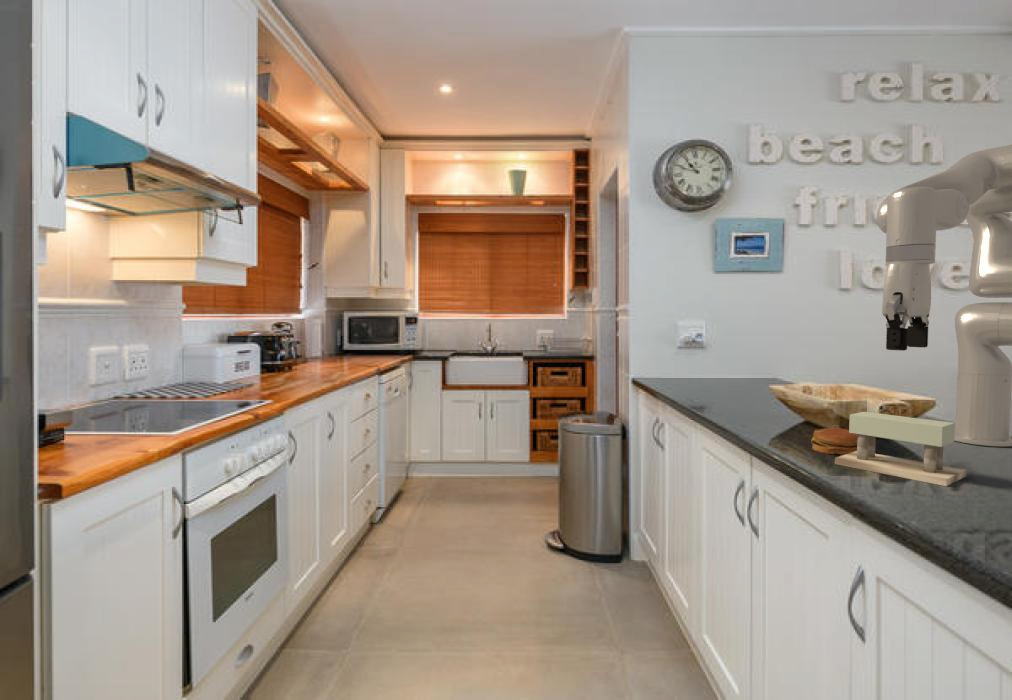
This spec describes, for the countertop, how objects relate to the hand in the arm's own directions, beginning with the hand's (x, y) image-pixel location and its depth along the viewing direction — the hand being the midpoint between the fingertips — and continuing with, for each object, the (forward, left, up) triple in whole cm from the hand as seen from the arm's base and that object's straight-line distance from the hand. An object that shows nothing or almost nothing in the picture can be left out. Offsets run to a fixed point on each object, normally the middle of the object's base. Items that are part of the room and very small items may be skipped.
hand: (907, 348), depth 107 cm
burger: (-4, -14, -23) cm, 27 cm away
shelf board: (+2, 0, -17) cm, 17 cm away
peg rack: (+2, 0, -23) cm, 23 cm away
